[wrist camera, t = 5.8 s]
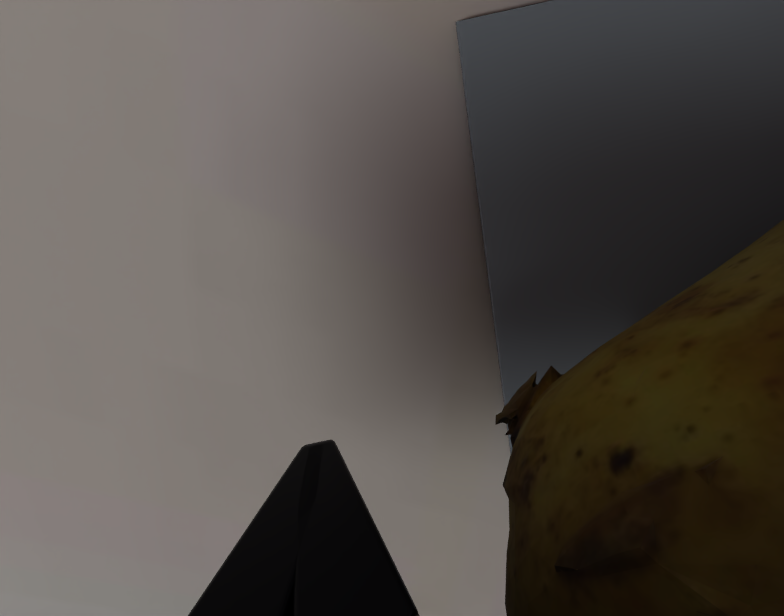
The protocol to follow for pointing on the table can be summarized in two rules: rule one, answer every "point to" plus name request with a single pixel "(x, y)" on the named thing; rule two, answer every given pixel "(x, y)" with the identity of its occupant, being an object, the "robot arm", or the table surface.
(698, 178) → the mat
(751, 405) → the potato
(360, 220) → the table surface
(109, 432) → the table surface
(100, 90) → the table surface
